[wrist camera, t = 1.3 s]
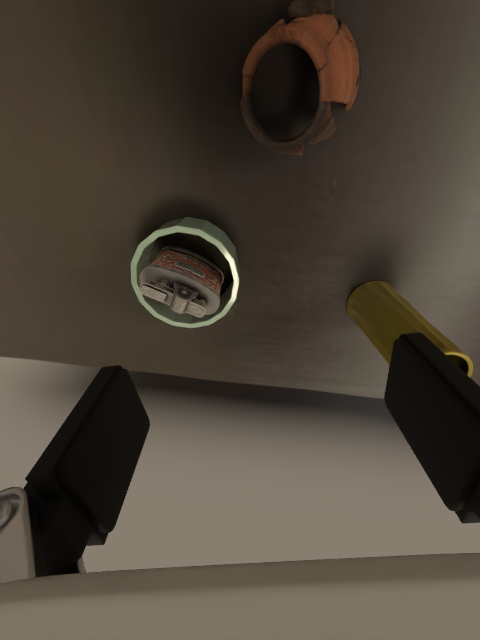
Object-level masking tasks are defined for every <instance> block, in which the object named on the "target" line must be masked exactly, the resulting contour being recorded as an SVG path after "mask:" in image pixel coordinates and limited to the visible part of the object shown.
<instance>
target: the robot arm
mask: <svg viewBox="0 0 480 640" xmlns="http://www.w3.org/2000/svg"><path fill="white" fill-rule="evenodd" d="M385 404H386V406H387V408H388V410H389V412H390V413H391V415H392V416H393V418H394V420H395V422H396V423H397V425H398V427H399V428H400V430H401V432H402V433H403V435H404V437H405V438H406V440H407V442H408V443H409V445H410V447H411V449H412V450H413V452H414V454H415V455H416V457H417V459H418V460H419V462H420V463H421V465H422V467H423V469H424V470H425V472H426V474H427V475H428V477H429V479H430V480H431V482H432V484H433V485H434V487H435V489H436V490H437V492H438V494H439V496H440V497H441V499H442V501H443V502H444V504H445V505H446V507H447V508H448V509H449V510H451V511H455V513H456V514H457V516H458V517H459V519H460V521H461V522H462V523H477V522H480V386H479V385H477V384H476V383H475V382H474V381H473V380H472V379H471V378H470V377H469V376H468V375H467V374H466V373H465V372H464V371H462V370H461V369H460V368H459V367H458V366H457V365H456V364H455V363H454V362H453V361H452V360H451V359H450V358H449V357H448V356H446V355H445V354H444V353H443V352H442V351H441V350H440V349H439V348H438V347H437V346H436V345H435V344H434V343H433V342H431V341H430V340H429V339H428V338H427V337H426V336H425V335H424V334H423V333H421V332H416V333H407V334H401V335H400V336H399V339H395V341H394V344H393V349H392V355H391V361H390V367H389V373H388V379H387V385H386V391H385ZM149 426H150V422H149V418H148V416H147V413H146V411H145V409H144V407H143V405H142V402H141V400H140V398H139V396H138V393H137V391H136V389H135V386H134V384H133V382H132V380H131V378H130V375H129V373H128V371H127V370H126V369H123V368H122V367H121V366H119V365H117V366H108V367H103V368H101V370H100V371H99V373H98V374H97V376H96V377H95V378H94V380H93V381H92V382H91V384H90V385H89V387H88V388H87V390H86V391H85V393H84V394H83V396H82V397H81V399H80V400H79V402H78V403H77V404H76V406H75V407H74V409H73V410H72V412H71V413H70V414H69V416H68V417H67V419H66V420H65V422H64V423H63V425H62V426H61V428H60V429H59V430H58V432H57V433H56V435H55V436H54V438H53V439H52V441H51V442H50V444H49V445H48V447H47V448H46V450H45V451H44V452H43V454H42V455H41V457H40V458H39V460H38V461H37V462H36V464H35V465H34V467H33V468H32V470H31V471H30V473H29V474H28V476H27V477H26V478H25V479H26V480H27V482H28V483H27V484H26V486H25V487H24V489H22V488H20V487H11V488H7V489H4V490H1V491H0V640H480V553H459V554H429V555H408V556H387V557H365V558H344V559H323V560H303V561H283V562H264V563H246V564H226V565H207V566H191V567H190V566H189V567H172V568H155V569H137V570H119V571H105V572H104V571H103V572H90V573H86V571H85V566H84V562H83V558H82V554H83V552H84V550H85V547H86V545H87V546H91V545H104V544H105V541H106V538H107V535H108V533H109V532H111V531H112V530H113V529H114V527H115V525H116V522H117V519H118V516H119V513H120V510H121V508H122V505H123V502H124V499H125V496H126V493H127V490H128V487H129V485H130V482H131V479H132V476H133V473H134V470H135V467H136V465H137V462H138V459H139V456H140V453H141V450H142V448H143V445H144V442H145V439H146V436H147V433H148V431H149Z"/></svg>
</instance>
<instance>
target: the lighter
mask: <svg viewBox="0 0 480 640" xmlns="http://www.w3.org/2000/svg"><path fill="white" fill-rule="evenodd" d="M139 280H140V284H141V285H140V288H139V291H140V293H141V294H143V295H145V296H148V297H150V298H153V299H155V300H158V301H160V302H162V303H165V304H167V305H168V306H169V307H170V308H171V310H172V311H174V312H176V313H179V314H182V313H189V314H192V315H194V316H196V317H203V316H204V315H210V314H213V313H215V312H216V311H217V309H218V308H219V305H220V296H219V295H220V289H221V285H222V283H223V280H224V273H223V270H222V269H221V268H219V267H218V266H217V265H215V264H214V263H212V262H211V261H209V260H207V259H206V258H204V257H202V256H200V255H198V254H196V253H193V252H191V251H188V250H186V249H182V248H178V247H175V246H165V247H164V248H163V249H162V250H161V251H160V252H159V254H158V257H157V258H156V259H155V260H154V261H153V262H152V263H151V264H150V265H147V266H146V267H145V268H144V269H143V270H142V271H141V273H140V277H139Z"/></svg>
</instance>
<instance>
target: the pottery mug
mask: <svg viewBox="0 0 480 640" xmlns="http://www.w3.org/2000/svg"><path fill="white" fill-rule="evenodd" d="M288 14H289V16H290V17H291V18H292V19H294V20H292V22H291V23H289V24H287V25H286V24H285V21H284V19H281V20H279V21H278V22H277V23H276V24H274V25H273V26H272V27H271V28H270V29H269V30H268V31H267V32H266V33H265V34H264V35H263V36H262V37H261V38H260V39H259V40H258V41H257V42H256V43H255V45H254V46H253V47H252V49H251V51H250V52H249V54H248V55H247V58H246V61H245V64H244V67H243V70H242V74H243V85H242V93H243V98H242V99H241V101H240V107H241V111H242V115H243V118H244V120H245V122H246V125H247V127H248V129H249V131H250V132H251V134H252V135H253V136H254V138H255V139H256V140H257V141H260V143H261V144H262V145H264V146H265V147H266V148H269V149H271V150H274V151H276V152H280V153H285V154H290V155H303V147H304V144H305V143H309V144H316V143H319V142H320V141H322V140H323V139H328V138H330V137H331V135H332V134H333V133H334V132H335V130H336V129H337V124H336V123H334V117H333V115H332V109H331V102H336V103H338V102H339V103H344V104H345V108H344V109H345V111H349V110H350V108H351V106H352V104H353V102H354V100H355V97H356V93H357V90H358V86H359V81H360V75H361V67H360V61H359V56H358V51H357V48H356V45H355V42H354V39H353V37H352V34H351V32H350V30H349V29H348V27H347V25H346V24H345V22H344V21H343V20H342V19H341V18H340V17H339V16H338V15H337V14H336V13H335V11H334V0H293V2H292V3H291V5H290V6H289V7H288ZM283 43H292V44H295V45H297V46H299V47H301V48H302V49H303V50H305V51H306V52H307V53H308V55H309V56H310V57H311V59H312V61H313V62H314V65H315V67H316V70H317V73H318V79H319V88H320V91H319V104H318V108H317V111H316V113H315V116H314V118H313V120H312V122H311V123H310V125H309V126H308V127H307V129H306V130H305V131H304V132H303V133H301V134H300V135H299V136H297V137H296V138H293V139H289V140H281V139H277V138H274V137H272V136H271V135H269V134H268V133H267V132H266V131H265V130H264V129H263V128H262V126H261V125H260V123H259V122H258V120H257V118H256V116H255V113H254V109H253V105H252V100H251V94H252V76H253V75H254V73H255V70H256V67H257V65H258V63H259V61H260V60H261V58H262V57H263V56H264V54H265V53H266V52H267V51H268V50H270V49H271V48H272V47H274V46H276V45H279V44H283Z"/></svg>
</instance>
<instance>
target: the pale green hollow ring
mask: <svg viewBox="0 0 480 640" xmlns="http://www.w3.org/2000/svg"><path fill="white" fill-rule="evenodd" d="M176 232H181V233H187V234H193V235H199V236H200V237H202V238H204V239H205V240H207V241H209V242H210V243H212V244H214V245H215V246H217V247H218V249H219V250H220V251H221V253H222V254H223V255H224V257H225V258H226V259H227V261H228V262H229V265H230V268H231V272H232V276H233V279H232V282H231V284H230V285H229V287H228V288H227V290H226V291H225V293H224V294H222V295H221V296H220V305H219V308H218V309H217V311H216V312H215V313H213V314H210V315H204V316H203V317H196V316H194V315H192V314H189V313H182V314H179V313H176V312H174V311H172V310H171V308H170V307H169V306H168V305H167V304H165V303H162V302H160V301H158V300H155V299H153V298H150V297H148V296H145V295H143V294H141V293H140V291H139V288H140V285H141V284H140V280H139V277H140V273H141V271H142V270H143V269H144V268H145V267H146V266H147V265H150V253H151V250H152V248H153V245H154V243H155V241H156V239H157V238H158V237H160V236H164V235H168V234H172V233H176ZM239 276H240V264H239V260H238V256H237V252H236V248H235V246H234V245H233V243H232V242H231V240H230V239H229V238H228V236H227V235H226V234H225V232H224V231H223V230H221V229H219V228H218V227H216V226H215V225H213V224H212V223H210V222H208V221H206V220H202V219H196V218H190V217H183V218H179V219H175V220H171V221H168V222H166V223H165V224H163V225H162V226H161V227H160V228H158V229H157V230H156V231H154V232H153V233H152V234H151V235H150V236H148V237H147V238H146V239H145V240H144V241H142V242H141V243H140V244H139V245H138V247H137V250H136V252H135V254H134V257H133V259H132V261H131V283H132V286H133V288H134V290H135V293H136V295H137V297H138V299H139V301H140V303H141V304H142V305H143V306H144V307H145V308H146V309H147V310H148V311H149V312H150V313H151V314H152V315H153V316H155V317H156V318H158V319H160V320H162V321H164V322H166V323H168V324H170V325H173V326H179V327H186V328H196V327H201V326H206V325H210V324H212V323H213V322H215V321H217V320H218V319H220V318H221V317H223V316H224V315H226V314H227V312H228V311H229V309H230V308H231V306H232V305H233V303H234V302H235V300H236V298H237V292H238V286H239Z"/></svg>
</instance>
